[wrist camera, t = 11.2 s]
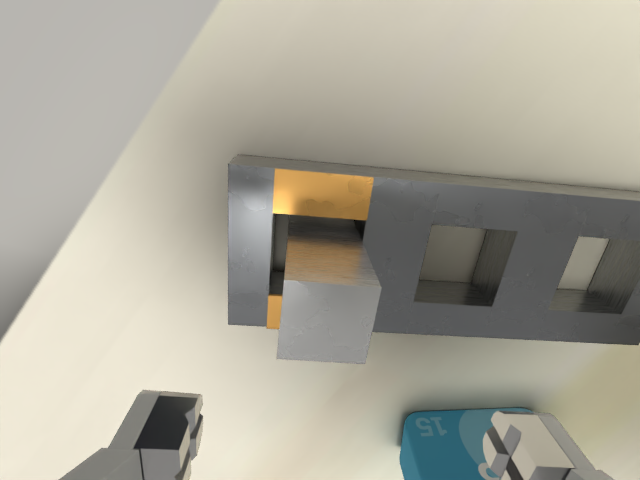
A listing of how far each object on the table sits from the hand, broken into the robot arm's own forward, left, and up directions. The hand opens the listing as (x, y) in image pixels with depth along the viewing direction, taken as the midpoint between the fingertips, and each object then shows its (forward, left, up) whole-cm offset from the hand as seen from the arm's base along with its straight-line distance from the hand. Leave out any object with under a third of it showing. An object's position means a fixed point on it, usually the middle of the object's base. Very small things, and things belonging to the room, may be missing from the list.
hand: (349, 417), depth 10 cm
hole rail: (-9, +1, -14) cm, 17 cm away
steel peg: (0, +1, -14) cm, 14 cm away
